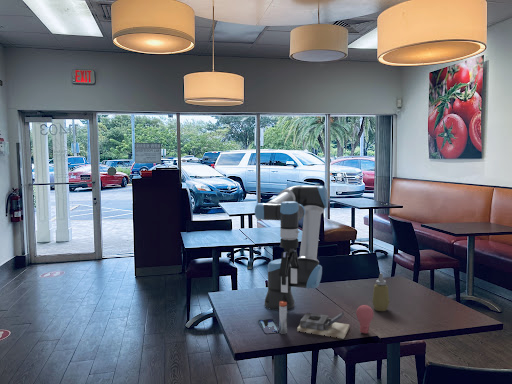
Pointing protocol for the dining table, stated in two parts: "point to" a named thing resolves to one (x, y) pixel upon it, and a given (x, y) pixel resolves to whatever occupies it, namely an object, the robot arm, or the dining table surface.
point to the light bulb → (364, 317)
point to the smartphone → (268, 323)
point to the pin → (282, 317)
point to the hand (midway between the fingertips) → (289, 287)
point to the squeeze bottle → (380, 294)
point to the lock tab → (335, 319)
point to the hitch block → (322, 326)
